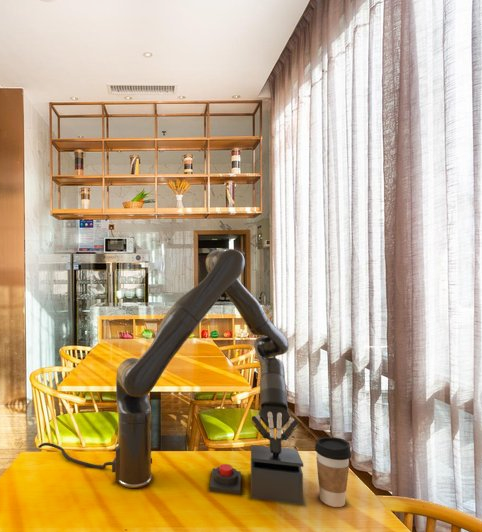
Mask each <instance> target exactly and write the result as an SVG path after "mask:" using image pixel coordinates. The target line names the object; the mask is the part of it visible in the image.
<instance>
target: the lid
mask: <svg viewBox="0 0 482 532" xmlns="http://www.w3.org/2000/svg"><path fill="white" fill-rule="evenodd" d="M281 449H282V450H281V454H279V456H275V455H273V453H271V452H270V446H266V445H258V444H257V445H256V444H251V445H250V462H251V461H253V462H262V463H271V464H280V465H290V466H299V467H301V468H304V462H303V460H302V458H301V455H300V452H299V451H298V449H296V448H285V447H281Z"/></svg>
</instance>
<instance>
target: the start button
mask: <svg viewBox="0 0 482 532" xmlns="http://www.w3.org/2000/svg"><path fill="white" fill-rule="evenodd" d="M218 467H219V473H220V475H223V476H232V474H233V468H234V467H233V466H232V465H231V464H228V463H222V464H220V465H219V466H218Z"/></svg>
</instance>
